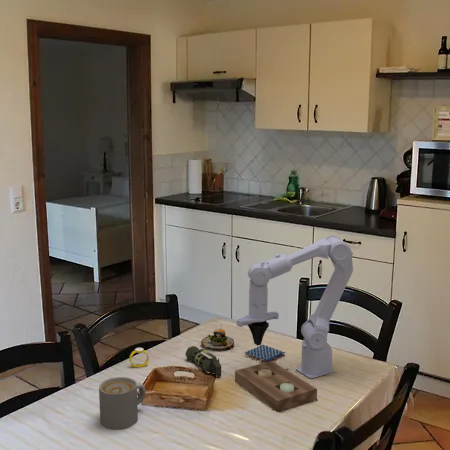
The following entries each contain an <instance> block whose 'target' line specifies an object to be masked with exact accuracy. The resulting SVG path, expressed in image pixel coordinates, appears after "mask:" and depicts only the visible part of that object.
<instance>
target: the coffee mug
mask: <svg viewBox="0 0 450 450" xmlns="http://www.w3.org/2000/svg"><path fill="white" fill-rule="evenodd" d="M98 385H99V386H98V391H99V392H98V397H99V398H98V399H99V421H100V425H101V426H102V427H103V428H105V429H109V430H114V431H115V430H116V431H118V430H125V429H128V428H130V427H132V426H134V425H135V424H136V423H137V422H138V420H139V414H138V413H139V411H138V406H139V405H140V404H141V403H143V401H144V400H145V397H146V387H145V385H144V384H143V383H141V382H137V381H136V380H135V379H134V378H132V377H128V376H127V377H126V376H115V377H110V378H107V379H105V380H104V381H102V382H101V383H99V384H98ZM138 390H139V393H138Z"/></svg>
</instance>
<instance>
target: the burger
mask: <svg viewBox="0 0 450 450" xmlns="http://www.w3.org/2000/svg"><path fill="white" fill-rule="evenodd" d="M220 326H222V324H221V325H220ZM212 334H213V335H211V334H210V333H208V334H207V336H205V337H204V338H202V339H201V341H200V343H201V345H203V346H205V347H207V348H209V349H214V350H223V349H227V348H229V349H228V350H232V349H234V346H235V341H234V339H233V338H232V337H230V336H226V331H225V330H224V329H223V328H217V329H215V330H213V332H212Z"/></svg>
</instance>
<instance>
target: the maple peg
mask: <svg viewBox="0 0 450 450" xmlns="http://www.w3.org/2000/svg"><path fill="white" fill-rule="evenodd" d="M271 373H272V372H271V371H270V370H268V369H261V370H259V371H258V375H259V376H260V377H262V378H266V377H269V376H271Z"/></svg>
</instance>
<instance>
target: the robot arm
mask: <svg viewBox="0 0 450 450" xmlns="http://www.w3.org/2000/svg"><path fill="white" fill-rule="evenodd" d="M353 255H354V253H353V251H352V249H351V247H350V245H348V243H347V242H345V241H343V240H342V239H341V238H340V237H339V236H338V235H337V236H336V235H329V236H327V237H326V238H321V239H319V240H317V241H316V242H314V243H312V244H310V245H308V246H305V247H304V248H301V249H300V250H297V251H296V252H293V253H291V254H289V255H287V254H285V253H281V254H280V253H277V254H274V256H275V257H272V258H269V259H267V260H262V261H261V262H260V263H254V264H252V265H251V266H250V267H249V268H248V271H247V275H248V277H249V288H248V315H245V316H243V317H240V318H238V319H236V326H238V327H240V328H243V327H244V326H248V328H249V330H250V334H251V336H252V341H253V344H254V345H255V346H260V345H262V342H263V339H264V336H265V334H266V332H267V329H268V328H269V326H270V324H269V323H270V322H267V321H271V320H279V312H277V311H268V283H269V282H270V280H273V279H275V278H276V277H280V276H282V275H284V274H287V273H289V272H291V270H292V269H293V267H294V266H295V265H298V264H301V263H304V262H306V261H310V260H311V259H315V258H322V259H327V260H329V258H330V260H331V263H332V265H333V268H334V270H333V272H332V274H331V277H330V279H329V281H328V283H327V285H326V288H324V289H325V290H324V292H323V293H322V296H321V298H320V300H319V301H318V304H317V306H316V309H315V311H314V313H312V314H311V315H310V316H309V317H308V319H307V320H306V321H305V322H304V323H303V324H302V325H301V329H300V332H301V335H302V337H303V340H302V343H301V361H300V362H301V365H300V366H297V367H295V370H296V371H297V372H299V373H301V374H303V376H306V377H308V378H309V379H314V378H317V377H321V376H325V375H328V374H331V373H334V369H333V349H332V347H331V345H330V344H329V342H327V341H328V338H327V337H328V333H329V331H330V321H331V319H332V317H333V315H334V312H335V310H336V308H337V305H338V304H339V302H340V299H341V298H342V295H343V293H344V291H345V288H346V287H347V285H348V282H350V278H351V277H352V274H353V272H354V266H353V265H354V264H353Z"/></svg>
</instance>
